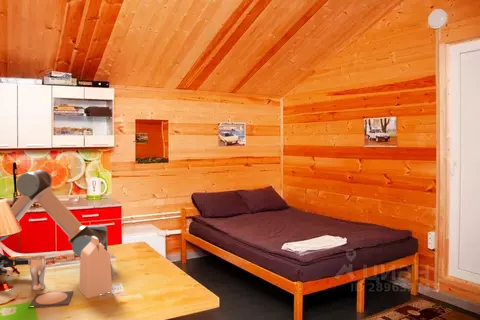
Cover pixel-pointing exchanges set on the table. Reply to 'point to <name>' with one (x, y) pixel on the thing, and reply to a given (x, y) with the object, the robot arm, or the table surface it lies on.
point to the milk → (95, 269)
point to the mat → (51, 299)
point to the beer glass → (37, 272)
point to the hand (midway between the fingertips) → (25, 268)
